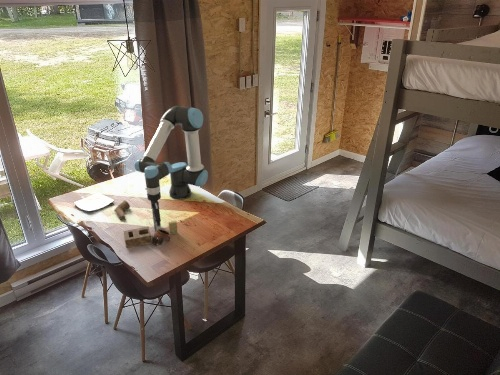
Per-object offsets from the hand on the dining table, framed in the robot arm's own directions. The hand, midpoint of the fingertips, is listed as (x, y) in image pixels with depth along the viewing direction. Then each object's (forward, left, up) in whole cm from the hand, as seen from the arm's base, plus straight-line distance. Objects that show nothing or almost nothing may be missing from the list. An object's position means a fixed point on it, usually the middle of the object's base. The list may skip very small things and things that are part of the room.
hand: (157, 225), depth 230 cm
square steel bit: (0, 0, -3) cm, 3 cm away
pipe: (+17, -27, -3) cm, 32 cm away
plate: (+34, -46, -3) cm, 57 cm away
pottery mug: (+1, +15, -3) cm, 15 cm away
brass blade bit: (-8, +8, -3) cm, 12 cm away
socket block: (+12, +8, -3) cm, 15 cm away
